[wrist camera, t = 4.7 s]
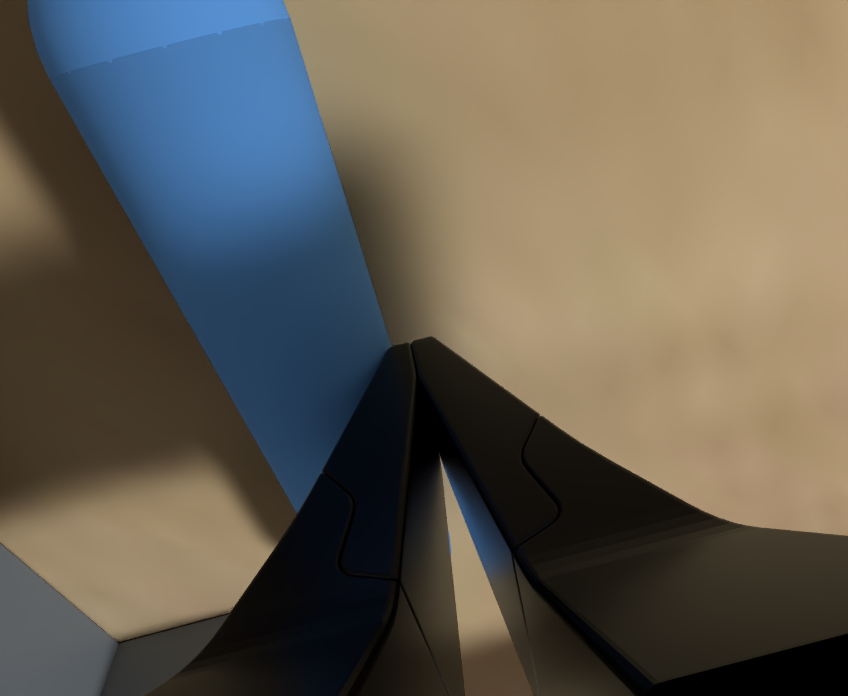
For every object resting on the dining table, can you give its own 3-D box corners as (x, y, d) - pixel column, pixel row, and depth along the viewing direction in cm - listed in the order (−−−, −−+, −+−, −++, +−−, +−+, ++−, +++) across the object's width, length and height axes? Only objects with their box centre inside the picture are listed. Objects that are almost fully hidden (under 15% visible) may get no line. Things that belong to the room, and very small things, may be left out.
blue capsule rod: (449, 521, 15) (472, 623, 12) (350, 547, 15) (351, 655, 12) (259, -109, 7) (211, -191, 4) (47, -54, 7) (-127, -102, 4)
